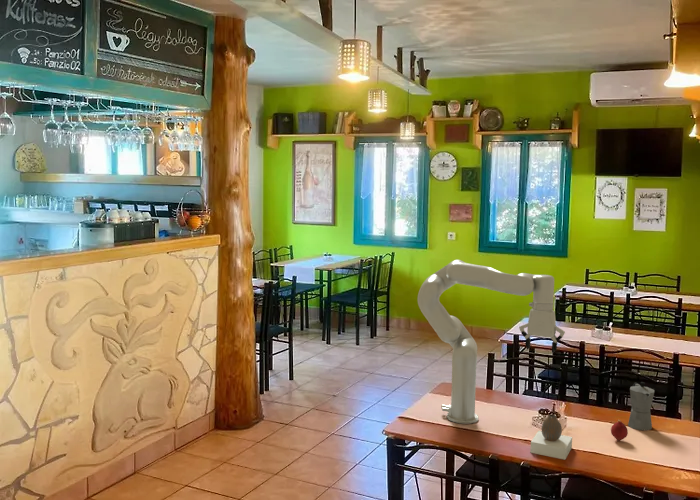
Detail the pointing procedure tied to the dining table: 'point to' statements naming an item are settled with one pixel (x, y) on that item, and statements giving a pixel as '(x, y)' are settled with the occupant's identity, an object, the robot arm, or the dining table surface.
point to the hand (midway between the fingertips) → (540, 350)
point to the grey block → (551, 446)
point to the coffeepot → (641, 407)
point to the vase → (551, 428)
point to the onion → (619, 430)
